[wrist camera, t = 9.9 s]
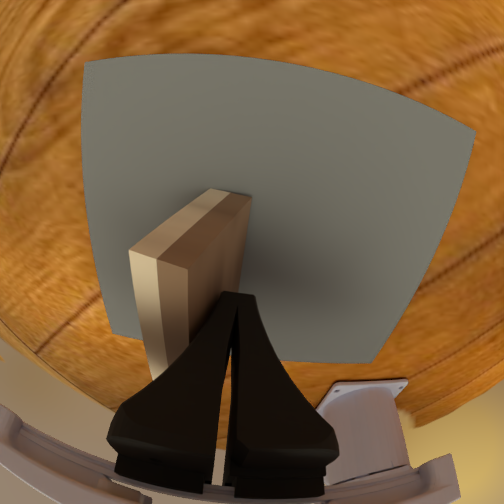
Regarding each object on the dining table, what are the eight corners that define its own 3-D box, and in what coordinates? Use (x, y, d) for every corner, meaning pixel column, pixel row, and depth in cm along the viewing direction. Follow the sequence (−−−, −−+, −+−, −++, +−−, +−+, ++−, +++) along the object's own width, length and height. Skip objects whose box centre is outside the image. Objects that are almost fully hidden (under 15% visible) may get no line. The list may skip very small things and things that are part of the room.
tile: (233, 324, 16) (192, 405, 12) (203, 313, 17) (155, 389, 12) (252, 197, 12) (188, 269, 7) (210, 188, 13) (128, 249, 8)
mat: (369, 359, 20) (371, 363, 19) (114, 329, 19) (112, 333, 19) (471, 130, 10) (476, 131, 10) (89, 62, 9) (84, 62, 9)
